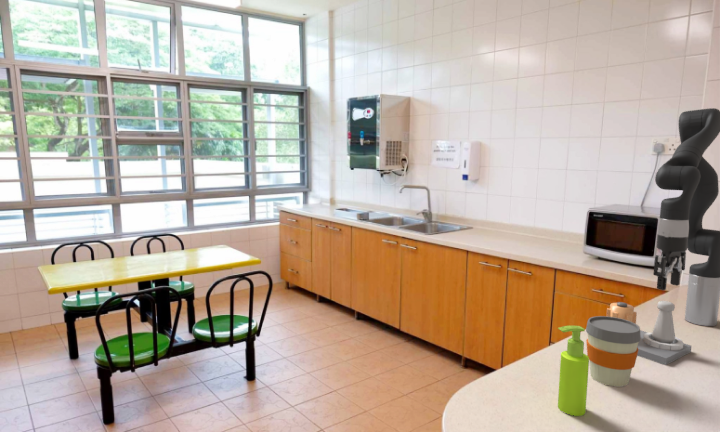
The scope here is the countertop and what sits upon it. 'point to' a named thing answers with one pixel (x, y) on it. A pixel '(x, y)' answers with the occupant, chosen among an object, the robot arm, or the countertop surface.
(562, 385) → the soap dispenser
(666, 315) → the salt shaker
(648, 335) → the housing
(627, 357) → the reusable coffee cup
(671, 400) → the countertop surface
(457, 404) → the countertop surface
